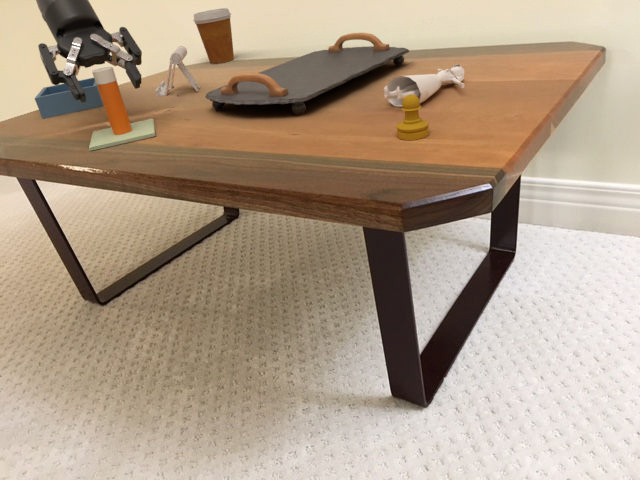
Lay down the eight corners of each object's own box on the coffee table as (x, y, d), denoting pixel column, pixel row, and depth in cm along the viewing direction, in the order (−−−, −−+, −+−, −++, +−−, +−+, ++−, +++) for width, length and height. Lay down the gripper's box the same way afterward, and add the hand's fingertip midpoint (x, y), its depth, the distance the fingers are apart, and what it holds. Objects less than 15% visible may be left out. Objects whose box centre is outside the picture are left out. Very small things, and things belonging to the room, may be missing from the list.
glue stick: (112, 136, 86) (91, 72, 81) (113, 131, 88) (92, 69, 84) (132, 132, 86) (112, 68, 82) (132, 127, 89) (112, 65, 84)
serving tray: (325, 61, 118) (321, 31, 115) (420, 60, 105) (419, 26, 102) (193, 115, 92) (183, 79, 90) (297, 123, 79) (289, 80, 76)
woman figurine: (359, 77, 79) (430, 57, 90) (361, 108, 80) (430, 84, 92) (426, 81, 71) (495, 58, 82) (426, 115, 73) (493, 88, 84)
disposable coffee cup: (197, 67, 137) (185, 16, 131) (212, 59, 145) (201, 11, 139) (232, 63, 134) (221, 11, 129) (245, 55, 142) (235, 6, 137)
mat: (90, 151, 82) (88, 147, 82) (94, 134, 91) (93, 131, 91) (155, 136, 84) (154, 132, 84) (153, 121, 93) (153, 118, 93)
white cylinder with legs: (164, 91, 115) (153, 50, 111) (201, 85, 115) (191, 44, 111) (158, 101, 107) (145, 57, 103) (197, 94, 108) (186, 50, 104)
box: (44, 122, 105) (34, 98, 103) (52, 110, 115) (43, 87, 113) (104, 109, 108) (96, 85, 105) (107, 98, 118) (100, 76, 115)
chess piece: (410, 127, 70) (408, 89, 67) (435, 131, 67) (433, 91, 64) (390, 137, 67) (387, 97, 65) (415, 141, 65) (412, 100, 62)
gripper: (16, 2, 80) (61, 88, 77) (111, -14, 86) (156, 64, 83) (25, 38, 87) (67, 119, 83) (112, 21, 93) (154, 95, 90)
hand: (111, 91), depth 83 cm, fingers open, 8 cm apart
